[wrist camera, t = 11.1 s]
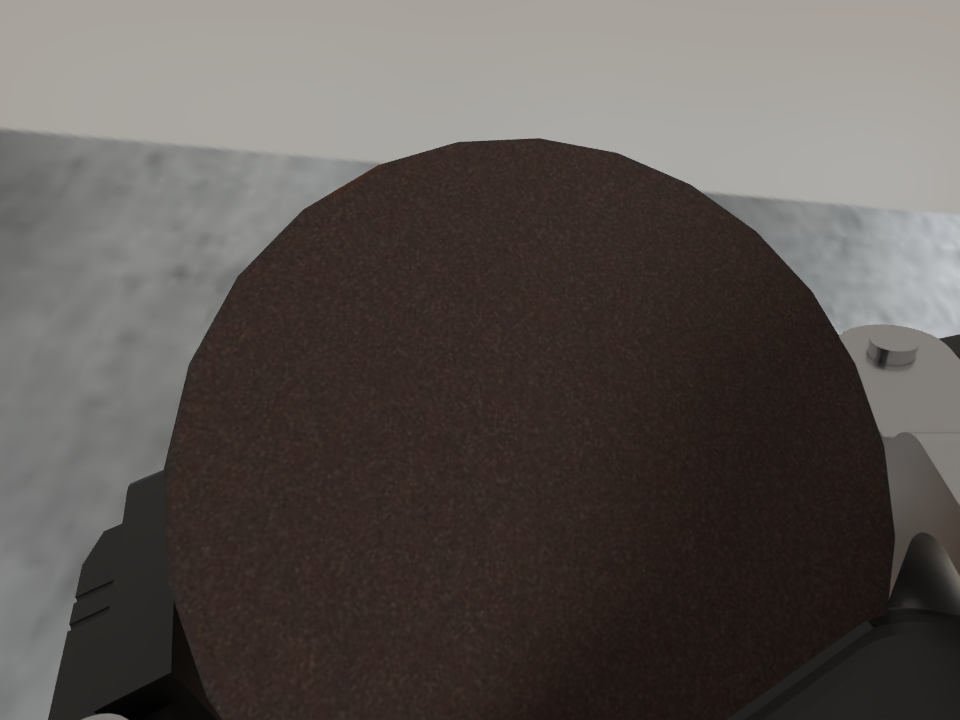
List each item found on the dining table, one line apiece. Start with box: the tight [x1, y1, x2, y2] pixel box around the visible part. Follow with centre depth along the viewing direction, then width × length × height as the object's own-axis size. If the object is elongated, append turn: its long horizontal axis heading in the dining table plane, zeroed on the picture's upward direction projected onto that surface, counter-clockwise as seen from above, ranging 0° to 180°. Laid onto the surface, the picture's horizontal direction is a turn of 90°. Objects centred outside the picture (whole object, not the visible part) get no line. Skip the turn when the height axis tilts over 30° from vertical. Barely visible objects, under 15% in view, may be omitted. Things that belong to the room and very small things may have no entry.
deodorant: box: [164, 138, 895, 720], centre depth 12 cm, size 6×6×15 cm
